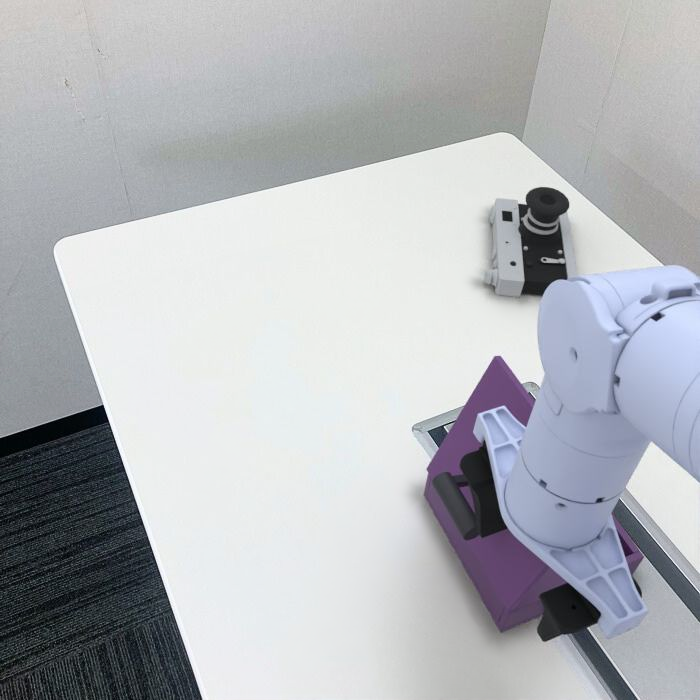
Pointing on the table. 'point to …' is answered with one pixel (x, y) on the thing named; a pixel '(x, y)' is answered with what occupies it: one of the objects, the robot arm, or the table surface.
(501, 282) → the camera
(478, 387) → the box cover
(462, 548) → the purple box
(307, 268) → the table surface
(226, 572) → the table surface
